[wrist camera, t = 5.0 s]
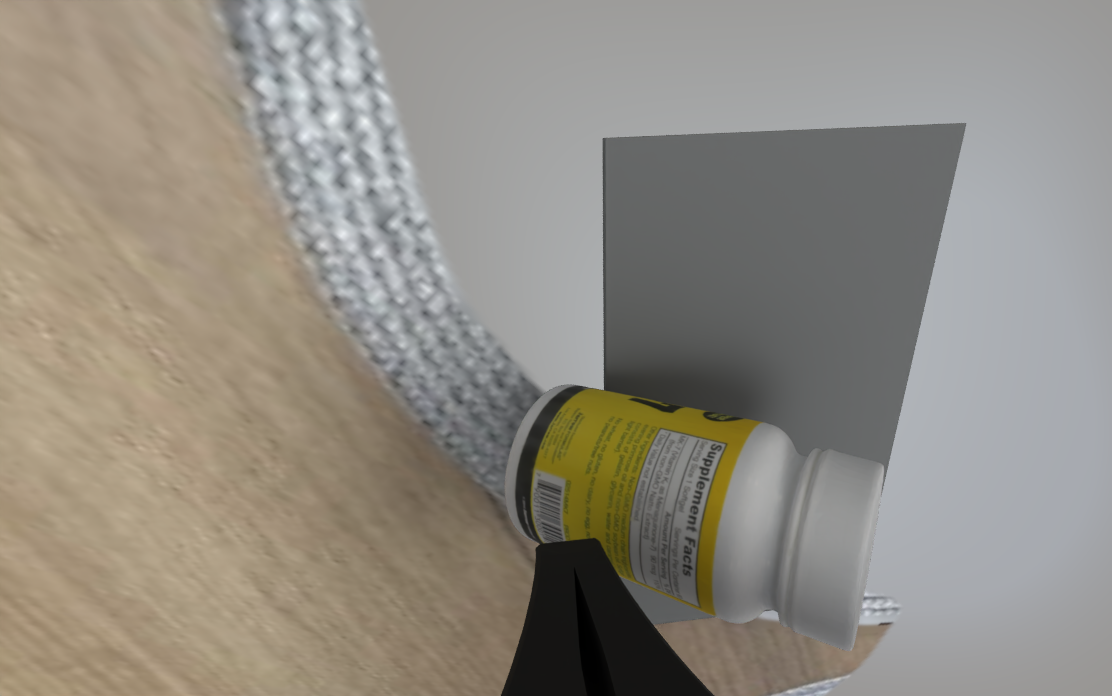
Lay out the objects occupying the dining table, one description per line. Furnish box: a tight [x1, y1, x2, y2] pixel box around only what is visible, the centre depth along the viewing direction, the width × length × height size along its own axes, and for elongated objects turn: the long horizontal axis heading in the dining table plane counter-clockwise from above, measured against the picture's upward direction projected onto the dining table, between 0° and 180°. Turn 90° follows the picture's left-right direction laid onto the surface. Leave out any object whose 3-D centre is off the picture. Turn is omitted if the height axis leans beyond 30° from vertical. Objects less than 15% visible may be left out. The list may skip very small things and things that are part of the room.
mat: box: [603, 123, 966, 624], centre depth 18 cm, size 18×10×1 cm, turn 2°
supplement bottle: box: [505, 385, 884, 651], centre depth 14 cm, size 5×5×8 cm
